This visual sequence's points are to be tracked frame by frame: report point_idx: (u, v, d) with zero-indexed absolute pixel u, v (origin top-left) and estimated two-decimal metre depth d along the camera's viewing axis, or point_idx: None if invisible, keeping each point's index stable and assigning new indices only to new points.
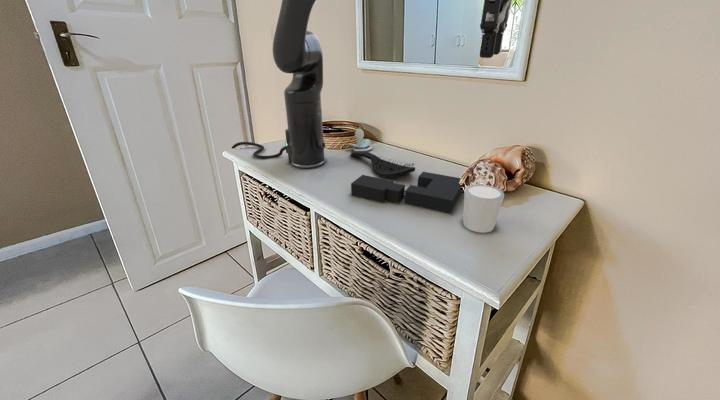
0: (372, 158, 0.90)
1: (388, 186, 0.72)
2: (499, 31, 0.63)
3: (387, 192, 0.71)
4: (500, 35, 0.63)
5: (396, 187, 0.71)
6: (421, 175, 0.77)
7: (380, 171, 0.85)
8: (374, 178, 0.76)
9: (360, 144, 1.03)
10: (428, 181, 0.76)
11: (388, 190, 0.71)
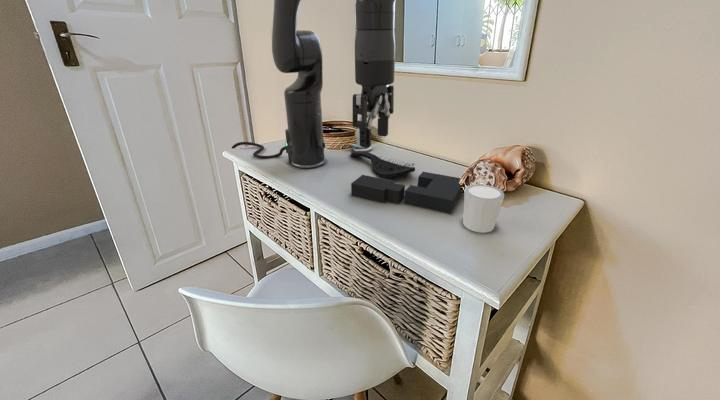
0: (372, 158, 0.90)
1: (388, 186, 0.72)
2: (384, 117, 0.71)
3: (387, 192, 0.71)
4: (385, 121, 0.71)
5: (396, 187, 0.71)
6: (421, 175, 0.77)
7: (380, 171, 0.85)
8: (374, 178, 0.76)
9: None
10: (428, 181, 0.76)
11: (388, 190, 0.71)
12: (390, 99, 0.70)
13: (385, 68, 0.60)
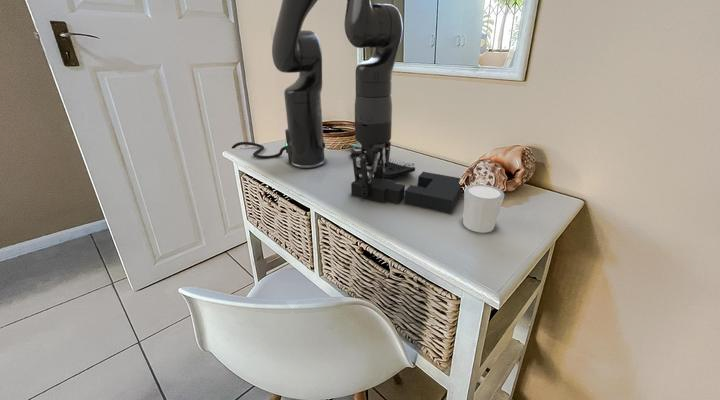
0: None
1: (388, 186, 0.72)
2: (380, 171, 0.75)
3: (387, 192, 0.71)
4: (381, 175, 0.75)
5: (396, 187, 0.71)
6: (421, 175, 0.77)
7: None
8: (374, 178, 0.76)
9: (360, 144, 1.03)
10: (428, 181, 0.76)
11: (388, 190, 0.71)
12: (386, 153, 0.75)
13: (383, 130, 0.65)
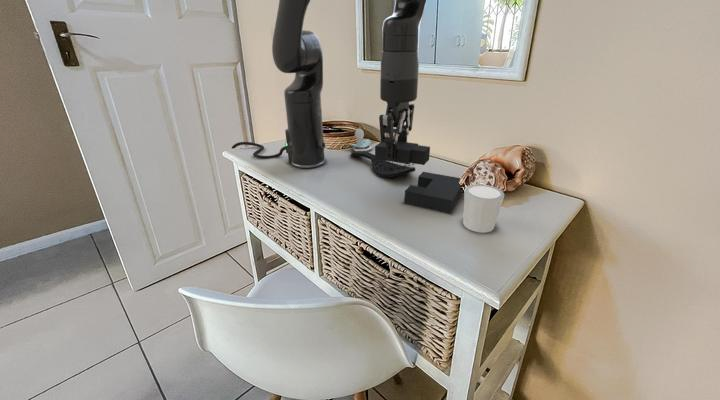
0: (372, 158, 0.90)
1: (413, 148, 0.71)
2: (403, 135, 0.74)
3: (412, 153, 0.70)
4: (404, 138, 0.74)
5: (421, 148, 0.70)
6: (421, 175, 0.77)
7: (380, 171, 0.85)
8: (398, 142, 0.75)
9: (360, 144, 1.03)
10: (428, 181, 0.76)
11: (414, 151, 0.70)
12: (410, 116, 0.74)
13: (410, 86, 0.64)
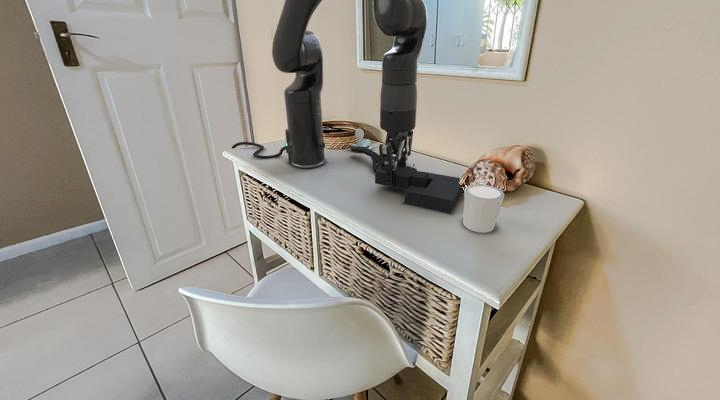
0: (372, 156, 0.90)
1: (411, 174, 0.73)
2: (403, 160, 0.77)
3: (411, 179, 0.72)
4: (403, 163, 0.77)
5: (419, 174, 0.73)
6: None
7: None
8: (397, 167, 0.77)
9: (360, 144, 1.03)
10: (428, 181, 0.76)
11: (412, 177, 0.72)
12: (409, 142, 0.77)
13: (408, 117, 0.67)
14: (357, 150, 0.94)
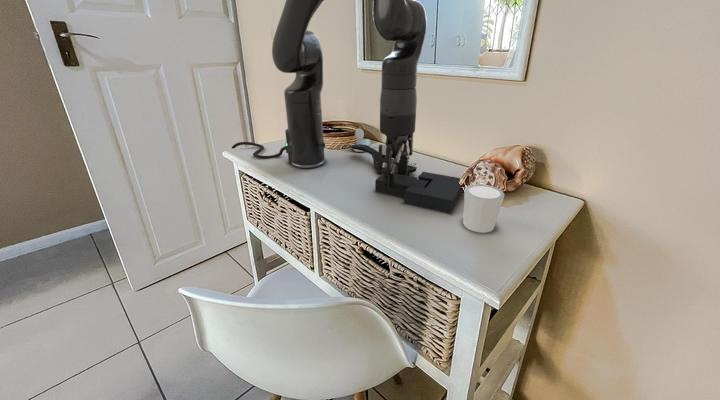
0: (374, 154, 0.90)
1: (412, 182, 0.73)
2: (404, 159, 0.77)
3: None
4: (405, 163, 0.77)
5: (420, 183, 0.73)
6: (421, 175, 0.77)
7: None
8: (397, 175, 0.77)
9: None
10: None
11: None
12: (410, 143, 0.77)
13: (408, 121, 0.67)
14: (358, 148, 0.94)
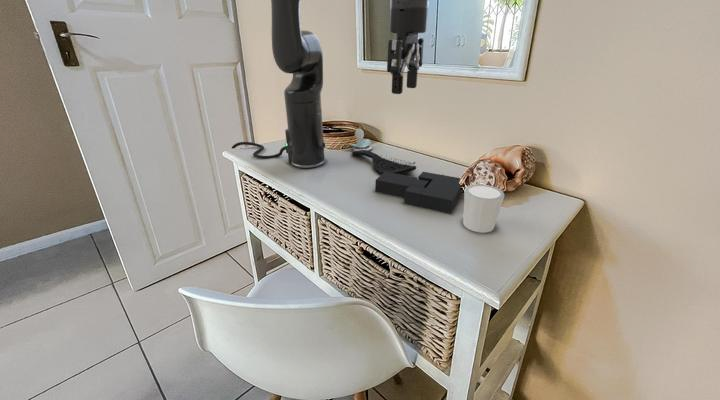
0: (373, 157, 0.91)
1: (412, 182, 0.73)
2: (414, 69, 0.75)
3: None
4: (415, 72, 0.75)
5: (420, 183, 0.73)
6: (421, 175, 0.77)
7: (381, 170, 0.86)
8: (397, 175, 0.77)
9: (360, 144, 1.03)
10: None
11: None
12: (420, 52, 0.74)
13: (420, 15, 0.64)
14: (358, 153, 0.95)
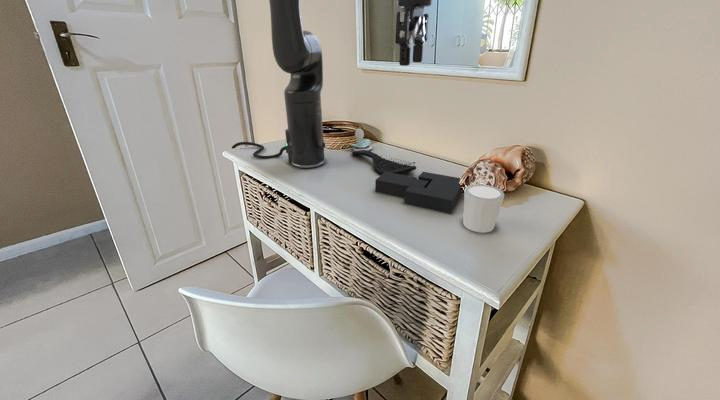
0: (373, 157, 0.91)
1: (412, 182, 0.73)
2: (420, 43, 0.78)
3: None
4: (420, 47, 0.78)
5: (420, 183, 0.73)
6: (421, 175, 0.77)
7: (381, 170, 0.86)
8: (397, 175, 0.77)
9: (360, 144, 1.03)
10: None
11: None
12: (425, 26, 0.78)
13: None
14: (358, 153, 0.95)
